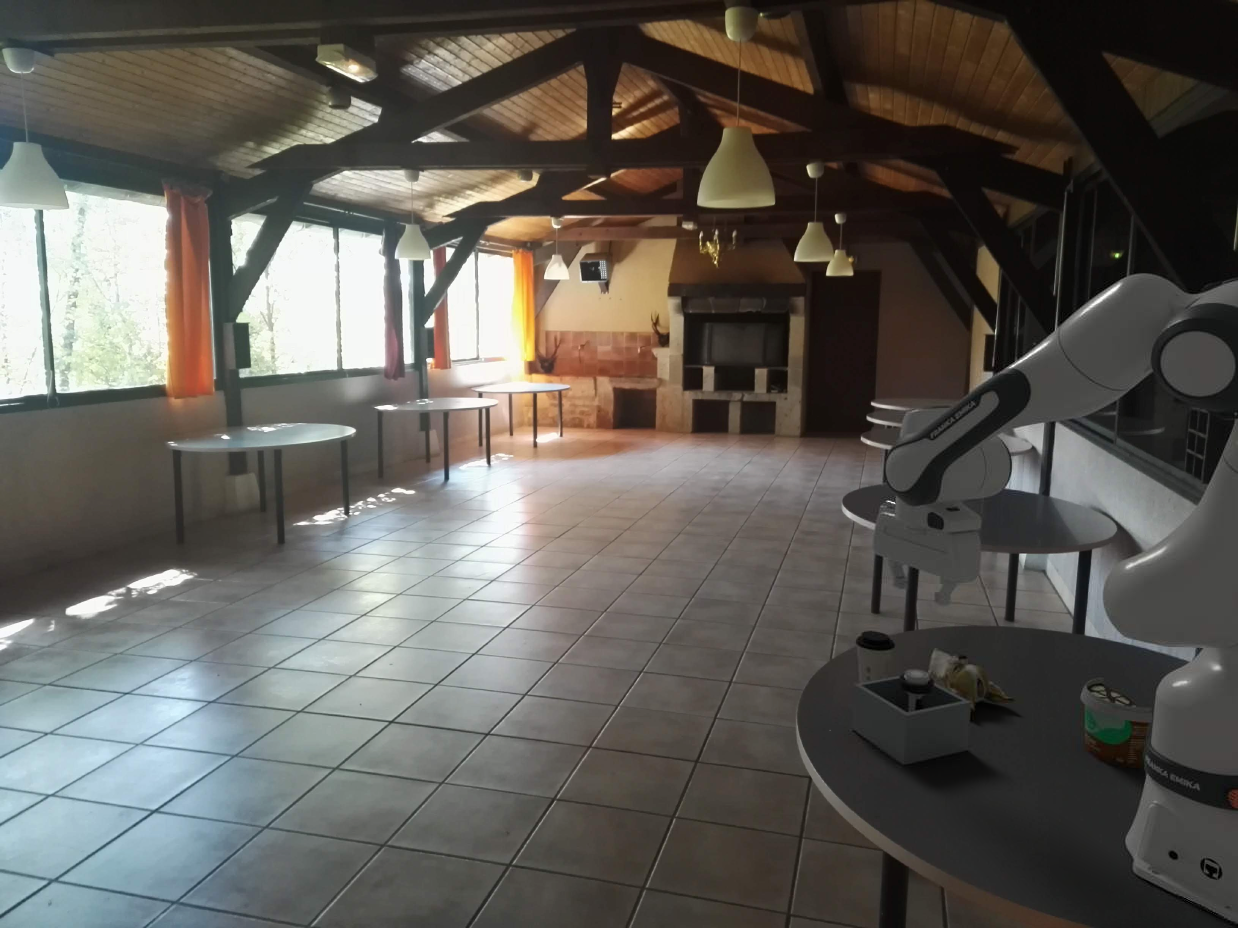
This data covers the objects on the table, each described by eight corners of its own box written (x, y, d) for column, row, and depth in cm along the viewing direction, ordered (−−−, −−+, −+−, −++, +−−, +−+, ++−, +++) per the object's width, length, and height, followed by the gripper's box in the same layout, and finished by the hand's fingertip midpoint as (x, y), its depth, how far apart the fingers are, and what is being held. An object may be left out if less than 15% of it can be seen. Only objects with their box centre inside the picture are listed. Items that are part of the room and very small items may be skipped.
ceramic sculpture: (957, 635, 163) (1022, 669, 150) (953, 678, 165) (1016, 715, 152) (912, 644, 159) (974, 679, 146) (908, 687, 161) (969, 726, 148)
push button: (921, 746, 137) (924, 685, 135) (888, 736, 140) (891, 677, 138) (935, 731, 142) (939, 672, 140) (903, 721, 145) (906, 664, 144)
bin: (967, 749, 138) (971, 702, 136) (903, 764, 133) (906, 715, 132) (912, 717, 149) (915, 672, 148) (851, 729, 144) (854, 684, 143)
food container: (1059, 735, 143) (1064, 677, 141) (1095, 734, 143) (1101, 676, 141) (1108, 774, 130) (1114, 710, 129) (1147, 772, 131) (1153, 709, 129)
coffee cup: (900, 691, 160) (903, 638, 158) (871, 698, 157) (874, 644, 155) (874, 677, 166) (876, 627, 164) (845, 683, 163) (847, 632, 161)
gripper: (865, 499, 144) (861, 580, 146) (957, 524, 125) (951, 617, 127) (896, 496, 146) (892, 576, 148) (990, 520, 127) (984, 611, 130)
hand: (920, 595), depth 137 cm, fingers open, 8 cm apart
